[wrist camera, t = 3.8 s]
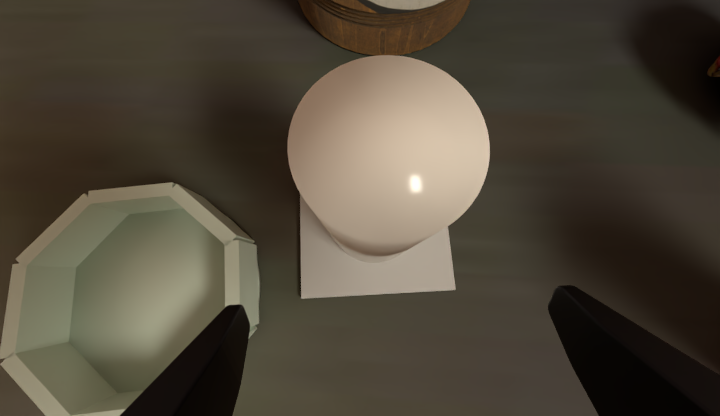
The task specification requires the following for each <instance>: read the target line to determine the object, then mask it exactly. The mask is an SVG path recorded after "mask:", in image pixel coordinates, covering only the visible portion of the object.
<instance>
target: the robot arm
mask: <svg viewBox="0 0 720 416" xmlns="http://www.w3.org/2000/svg"><path fill="white" fill-rule="evenodd" d="M548 310H549V314H550V316H551V319H552V321H553V323H554V326H555V328H556V330H557V333H558V335H559V337H560V340H561V342H562V344H563V347H564V349H565V352H566V354H567V356H568V358H569V361H570V363H571V365H572V367H573V369H574V371H575V373H576V375H577V376H578V378H579V380H580V382H581V384H582V386H583V387H584V389H585V391H586V393H587V395H588V397H589V398H590V400H591V402H592V404H593V406H594V408H595V409H596V411H597V413H598V415H599V416H720V375H718V374H717V373H715V372H713V371H712V370H710V369H709V368H707V367H705V366H704V365H702V364H700V363H699V362H697V361H696V360H694V359H692V358H691V357H689V356H687V355H686V354H684V353H683V352H681V351H679V350H678V349H676V348H674V347H673V346H671V345H669V344H668V343H666V342H665V341H663V340H661V339H660V338H658V337H656V336H655V335H653V334H652V333H650V332H648V331H647V330H645V329H643V328H642V327H640V326H639V325H637V324H635V323H634V322H632V321H630V320H629V319H627V318H626V317H624V316H622V315H621V314H619V313H617V312H616V311H614V310H613V309H611V308H609V307H608V306H606V305H604V304H603V303H601V302H600V301H598V300H596V299H595V298H593V297H591V296H590V295H588V294H587V293H585V292H583V291H582V290H580V289H578V288H577V287H575V286H572V285H566V286H558V287H556V288H555V290H554V293H553V295H552V297H551V300H550V302H549V304H548ZM249 333H250V322H249V319H248V317H247V314H246V311H245V309H244V306H243V305H241V304H236V305H228V306H226V307H225V308H224V309H223V310H222V311H221V312H220V313H219V314H218V315H217V316H216V317H215V318H214V319H213V320H212V321H211V322H210V323H209V324H208V325H207V326H206V327H205V328H204V329H203V330H202V331H201V332H200V334H199V335H198V336H197V337H196V338H195V339H194V340H193V341H192V342H191V343H190V344H189V345H188V346H187V347H186V348H185V349H184V350H183V351H182V352H181V353H180V354H179V355H178V356H177V357H176V358H175V359H174V360H173V361H172V362H171V363H170V364H169V365H168V366H167V367H166V368H165V369H164V370H163V371H162V373H161V374H160V375H159V376H158V377H157V378H156V379H155V380H154V381H153V382H152V383H151V384H150V385H149V386H148V387H147V388H146V389H145V390H144V391H143V392H142V393H141V394H140V395H139V396H138V397H137V398H136V399H135V400H134V401H133V402H132V403H131V404H130V405H129V406H128V407H127V408H126V409H125V411H124V412H123V413H122V414H121V415H120V416H232V415H233V411H234V407H235V404H236V400H237V397H238V393H239V389H240V385H241V380H242V374H243V368H244V362H245V356H246V350H247V345H248V339H249Z"/></svg>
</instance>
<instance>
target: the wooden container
mask: <svg viewBox="0 0 720 416" xmlns="http://www.w3.org/2000/svg"><path fill="white" fill-rule="evenodd" d="M298 2H299V4H300V7H301V9H302V11H303V13H304V15H305V16H306V18H307V19H308V21H309V22H310V23H311V24H312V26H313V27H314V28H315V29H316V30H317V31H318V32H319V33H320V34H322V35H323V36H324V37H325V38H327V39H328V40H330V41H332V42H333V43H335V44H337V45H339V46H341V47H343V48H346V49H348V50H351V51H354V52H358V53H362V54H367V55H374V56H379V55H402V54H407V53H411V52H415V51H418V50H421V49H423V48H426V47H428V46H430V45H432V44H434V43H436V42H437V41H439V40H440V39H442V38H443V37H444V36H446V35H447V34H448V33H449V32H450V31H451V30H452V29H453V28H454V27H455V26H456V25H457V24H458V22H459V21H460V20H461V18H462V17H463V15H464V13H465V12H466V9H467V7H468V5H469V3H470V0H298Z"/></svg>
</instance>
